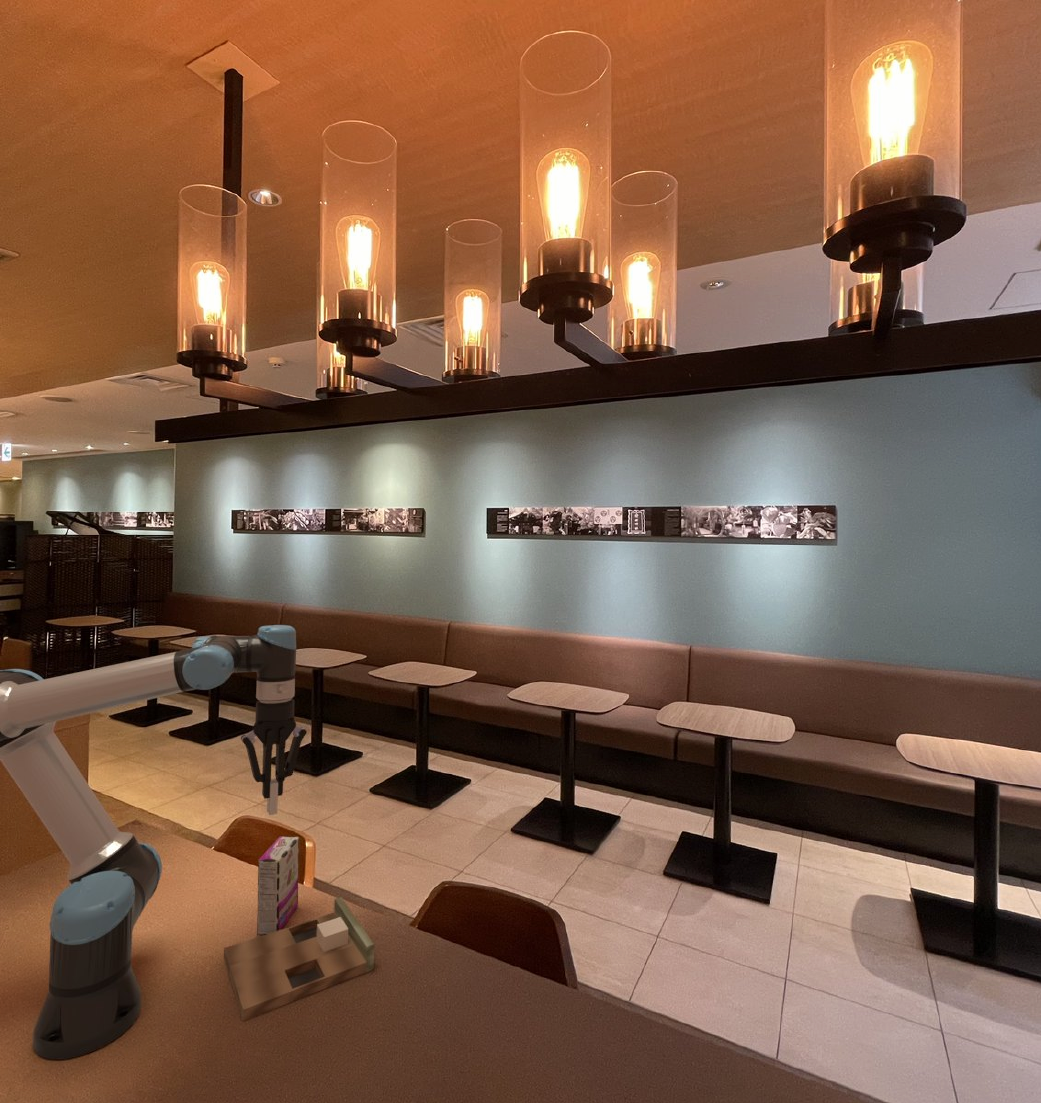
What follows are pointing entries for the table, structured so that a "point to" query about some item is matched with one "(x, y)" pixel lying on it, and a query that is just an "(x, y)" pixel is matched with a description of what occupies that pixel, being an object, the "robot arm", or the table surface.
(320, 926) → the block
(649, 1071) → the table surface
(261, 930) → the candy bar box
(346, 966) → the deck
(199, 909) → the table surface
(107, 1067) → the table surface
